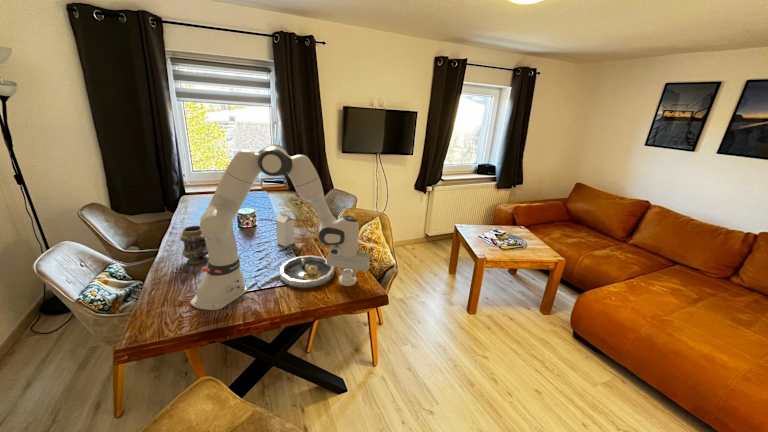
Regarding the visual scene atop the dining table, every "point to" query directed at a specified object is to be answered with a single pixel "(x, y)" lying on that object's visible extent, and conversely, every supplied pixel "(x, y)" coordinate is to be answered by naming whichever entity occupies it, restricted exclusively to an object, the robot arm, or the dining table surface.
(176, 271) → the dining table surface
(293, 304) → the dining table surface
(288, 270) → the grey round tray
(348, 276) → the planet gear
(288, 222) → the milk carton
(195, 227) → the apothecary jar
